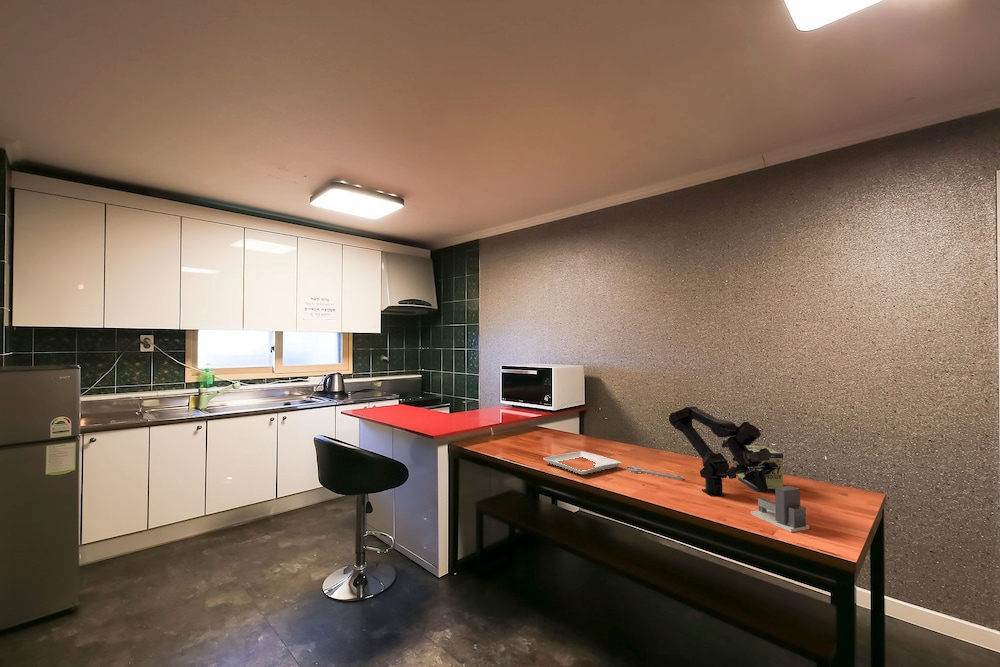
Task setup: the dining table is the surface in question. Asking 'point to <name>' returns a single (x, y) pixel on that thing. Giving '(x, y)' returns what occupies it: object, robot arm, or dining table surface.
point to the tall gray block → (785, 501)
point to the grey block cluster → (794, 512)
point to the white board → (771, 518)
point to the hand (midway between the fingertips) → (767, 492)
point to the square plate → (600, 461)
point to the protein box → (773, 478)
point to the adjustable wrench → (636, 470)
